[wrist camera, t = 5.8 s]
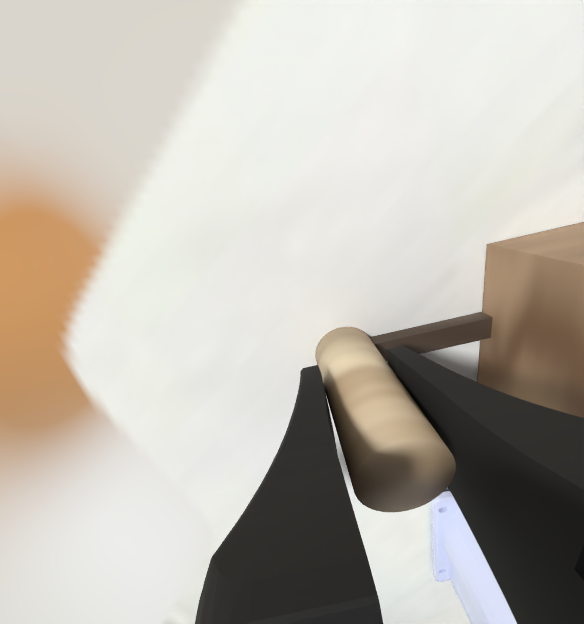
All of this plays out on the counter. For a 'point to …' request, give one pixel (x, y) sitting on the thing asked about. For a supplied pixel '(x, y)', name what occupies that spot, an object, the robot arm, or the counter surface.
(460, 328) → the block with knob handle
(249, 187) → the counter surface
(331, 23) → the counter surface
